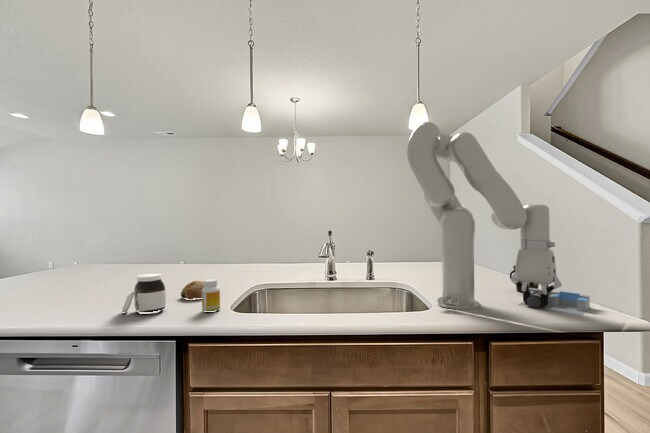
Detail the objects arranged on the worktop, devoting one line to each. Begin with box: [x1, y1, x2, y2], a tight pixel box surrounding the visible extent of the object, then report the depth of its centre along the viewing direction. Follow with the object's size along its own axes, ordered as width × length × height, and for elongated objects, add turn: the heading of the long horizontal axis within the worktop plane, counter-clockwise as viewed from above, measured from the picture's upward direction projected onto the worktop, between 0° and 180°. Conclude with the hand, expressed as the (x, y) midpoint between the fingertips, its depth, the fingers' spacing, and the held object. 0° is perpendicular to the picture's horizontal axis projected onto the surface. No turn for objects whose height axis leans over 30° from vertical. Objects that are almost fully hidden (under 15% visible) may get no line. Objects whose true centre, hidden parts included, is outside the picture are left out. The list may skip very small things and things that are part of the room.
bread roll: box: [180, 280, 205, 299], centre depth 126 cm, size 10×10×8 cm
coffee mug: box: [509, 263, 540, 294], centre depth 124 cm, size 12×9×10 cm
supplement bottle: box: [201, 278, 221, 312], centre depth 108 cm, size 5×5×10 cm
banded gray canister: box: [527, 292, 542, 309], centre depth 106 cm, size 8×4×4 cm, turn 133°
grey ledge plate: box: [517, 288, 592, 317], centre depth 105 cm, size 12×16×5 cm
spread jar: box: [121, 273, 167, 313], centre depth 108 cm, size 12×11×12 cm
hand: (535, 304), depth 105 cm, fingers closed on banded gray canister, 3 cm apart
